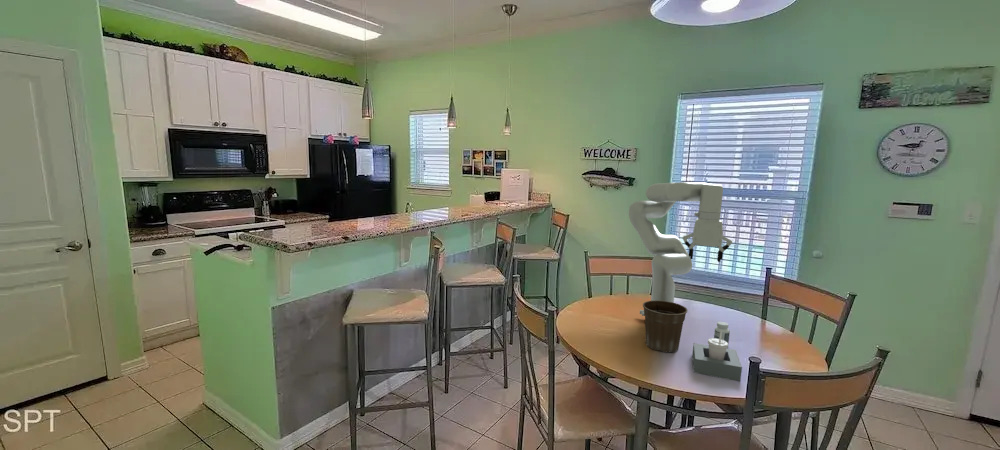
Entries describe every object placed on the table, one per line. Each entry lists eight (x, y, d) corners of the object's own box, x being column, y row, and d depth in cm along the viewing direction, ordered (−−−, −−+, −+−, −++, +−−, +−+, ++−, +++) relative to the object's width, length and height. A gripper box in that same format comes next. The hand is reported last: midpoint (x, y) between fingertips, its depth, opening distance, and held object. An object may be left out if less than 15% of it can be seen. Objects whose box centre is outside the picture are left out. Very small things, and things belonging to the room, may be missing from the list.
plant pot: (630, 340, 168) (633, 302, 166) (661, 335, 175) (664, 298, 172) (660, 358, 154) (664, 316, 151) (693, 351, 160) (697, 311, 158)
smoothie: (728, 373, 144) (732, 334, 142) (708, 370, 145) (712, 332, 143) (721, 364, 150) (726, 327, 148) (702, 362, 151) (707, 325, 149)
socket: (694, 372, 144) (695, 358, 143) (692, 355, 156) (693, 343, 156) (740, 381, 138) (742, 367, 138) (734, 363, 151) (736, 350, 150)
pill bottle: (726, 342, 169) (729, 322, 167) (729, 348, 164) (731, 326, 162) (712, 340, 170) (714, 320, 169) (714, 346, 165) (716, 324, 164)
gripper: (684, 215, 160) (680, 259, 162) (736, 219, 153) (731, 264, 156) (684, 213, 167) (680, 255, 169) (733, 216, 160) (728, 260, 163)
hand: (704, 259), depth 162 cm, fingers open, 9 cm apart
